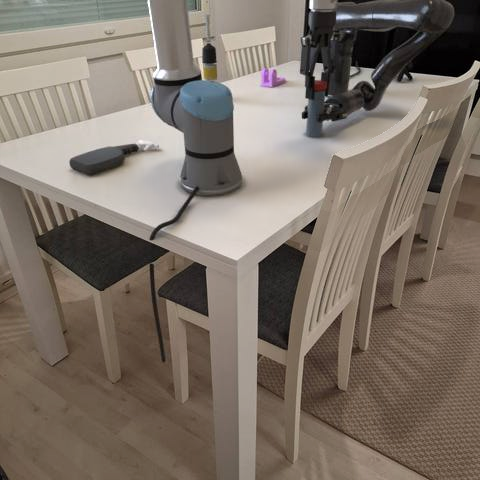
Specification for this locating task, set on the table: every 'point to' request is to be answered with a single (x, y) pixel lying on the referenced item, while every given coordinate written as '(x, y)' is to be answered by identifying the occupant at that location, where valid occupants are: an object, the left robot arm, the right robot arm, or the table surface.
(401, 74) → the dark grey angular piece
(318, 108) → the jar
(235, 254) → the table surface
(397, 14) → the right robot arm
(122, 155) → the spray bottle
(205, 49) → the bottle with thin stem
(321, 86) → the lid
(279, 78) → the bracket
